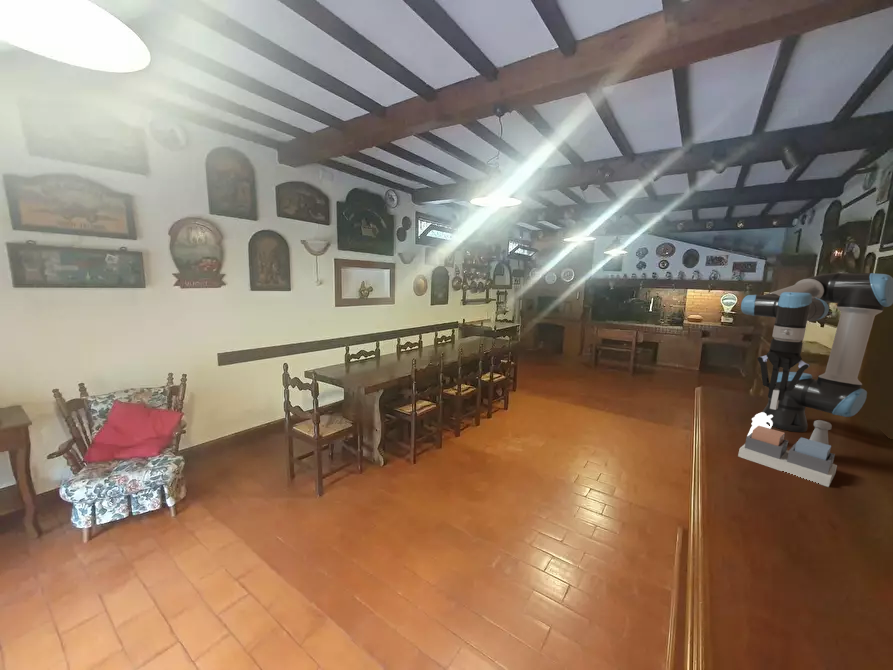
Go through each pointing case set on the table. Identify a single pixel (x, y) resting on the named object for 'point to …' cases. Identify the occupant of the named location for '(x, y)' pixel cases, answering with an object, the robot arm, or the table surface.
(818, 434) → the salt shaker
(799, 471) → the key housing
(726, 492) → the table surface
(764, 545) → the table surface
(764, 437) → the terracotta key
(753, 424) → the figurine
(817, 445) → the slate blue key
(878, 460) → the table surface
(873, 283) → the robot arm
